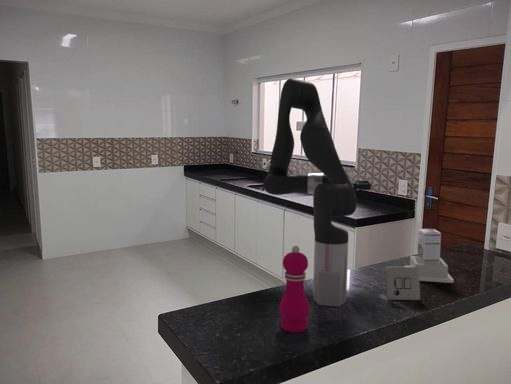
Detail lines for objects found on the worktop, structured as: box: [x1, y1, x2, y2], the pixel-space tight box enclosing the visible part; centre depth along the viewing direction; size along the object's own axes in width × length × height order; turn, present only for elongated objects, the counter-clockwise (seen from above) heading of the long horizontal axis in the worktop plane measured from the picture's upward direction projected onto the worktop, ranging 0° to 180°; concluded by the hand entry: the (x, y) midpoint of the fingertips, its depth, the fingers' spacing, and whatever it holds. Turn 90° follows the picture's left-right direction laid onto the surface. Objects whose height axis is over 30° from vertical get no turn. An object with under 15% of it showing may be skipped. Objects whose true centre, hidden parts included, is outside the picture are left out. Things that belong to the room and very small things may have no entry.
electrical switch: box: [385, 265, 421, 301], centre depth 120 cm, size 9×5×9 cm, turn 88°
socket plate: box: [404, 255, 454, 284], centre depth 140 cm, size 13×13×5 cm
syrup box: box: [417, 228, 442, 265], centre depth 139 cm, size 6×6×14 cm
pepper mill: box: [278, 245, 310, 333], centre depth 100 cm, size 7×7×20 cm
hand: (369, 185), depth 141 cm, fingers open, 8 cm apart
